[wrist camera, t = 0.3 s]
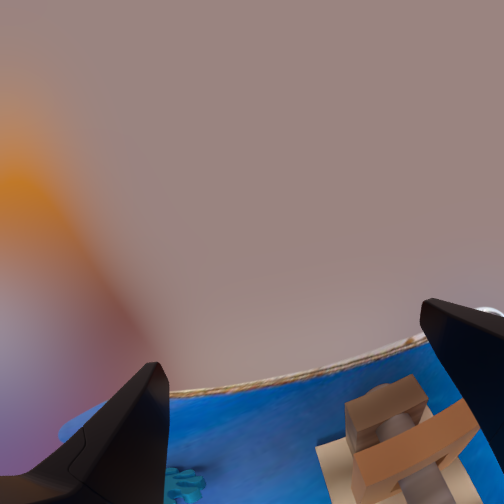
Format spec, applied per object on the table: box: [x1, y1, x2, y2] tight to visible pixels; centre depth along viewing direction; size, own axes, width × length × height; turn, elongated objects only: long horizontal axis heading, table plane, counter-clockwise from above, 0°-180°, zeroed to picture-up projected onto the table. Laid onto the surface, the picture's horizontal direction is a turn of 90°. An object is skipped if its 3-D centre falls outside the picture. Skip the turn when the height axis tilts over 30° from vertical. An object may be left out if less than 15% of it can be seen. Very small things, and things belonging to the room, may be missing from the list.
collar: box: [351, 398, 480, 504], centre depth 11 cm, size 2×7×8 cm, turn 97°
